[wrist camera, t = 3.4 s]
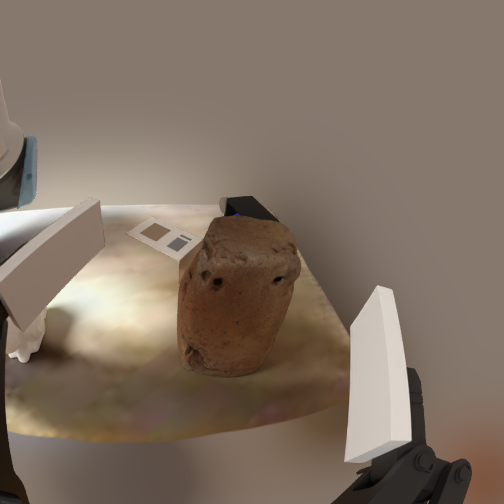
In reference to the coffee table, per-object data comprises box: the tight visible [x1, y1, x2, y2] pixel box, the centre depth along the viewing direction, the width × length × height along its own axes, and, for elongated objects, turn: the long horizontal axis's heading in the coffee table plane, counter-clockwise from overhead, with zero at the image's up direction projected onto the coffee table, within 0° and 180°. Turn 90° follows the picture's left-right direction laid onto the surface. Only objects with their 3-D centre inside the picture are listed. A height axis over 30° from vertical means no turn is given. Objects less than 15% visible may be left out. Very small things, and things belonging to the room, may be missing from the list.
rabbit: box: [6, 307, 47, 363], centre depth 24 cm, size 12×9×12 cm
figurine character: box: [220, 196, 279, 222], centre depth 58 cm, size 7×8×15 cm
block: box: [177, 216, 301, 377], centre depth 29 cm, size 11×8×20 cm
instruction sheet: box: [127, 216, 203, 262], centre depth 52 cm, size 15×8×1 cm, turn 66°
